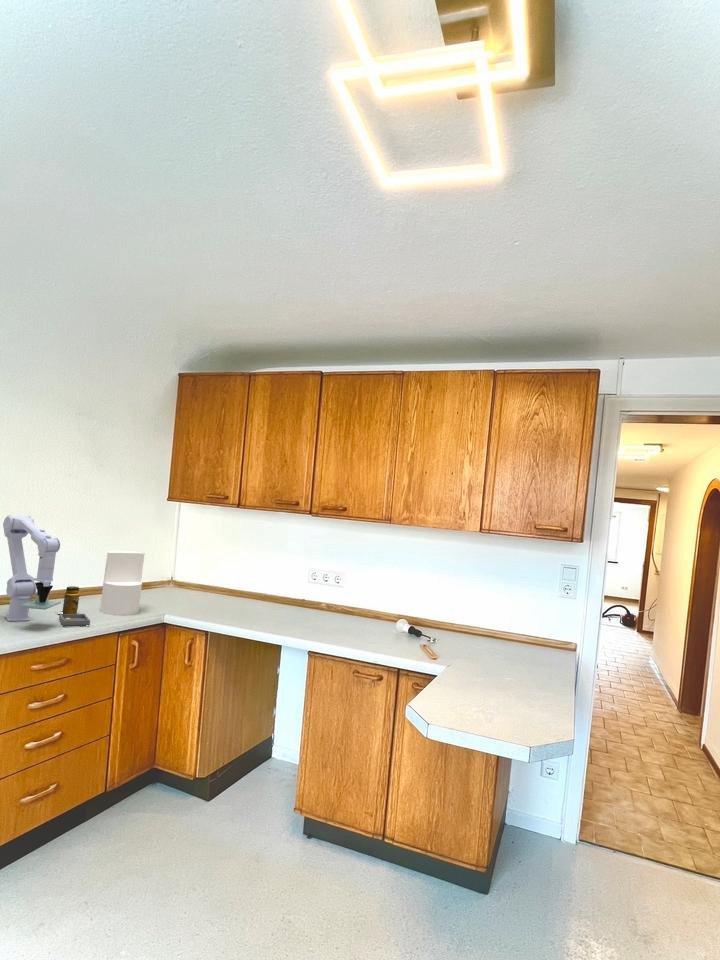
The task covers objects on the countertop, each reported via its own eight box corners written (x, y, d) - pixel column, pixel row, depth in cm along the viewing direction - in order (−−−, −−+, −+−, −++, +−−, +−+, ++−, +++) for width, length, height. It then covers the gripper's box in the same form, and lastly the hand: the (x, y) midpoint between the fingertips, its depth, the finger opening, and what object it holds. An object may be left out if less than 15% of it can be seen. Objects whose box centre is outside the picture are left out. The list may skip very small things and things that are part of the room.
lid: (35, 602, 233) (37, 592, 234) (60, 604, 234) (61, 594, 234) (20, 608, 221) (22, 597, 222) (46, 610, 222) (48, 599, 222)
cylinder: (94, 607, 270) (102, 550, 271) (130, 606, 282) (137, 550, 283) (107, 616, 257) (115, 555, 258) (144, 614, 269) (151, 555, 270)
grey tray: (58, 620, 241) (59, 614, 241) (84, 619, 247) (85, 613, 247) (63, 627, 231) (63, 621, 231) (89, 626, 237) (90, 620, 237)
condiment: (79, 614, 254) (83, 588, 254) (59, 616, 248) (63, 589, 248) (74, 611, 259) (78, 585, 260) (54, 612, 253) (58, 585, 254)
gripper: (32, 564, 232) (28, 597, 231) (36, 570, 220) (32, 605, 220) (52, 565, 236) (47, 597, 236) (57, 570, 224) (52, 604, 224)
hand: (41, 601), depth 228 cm, fingers closed on lid, 4 cm apart
